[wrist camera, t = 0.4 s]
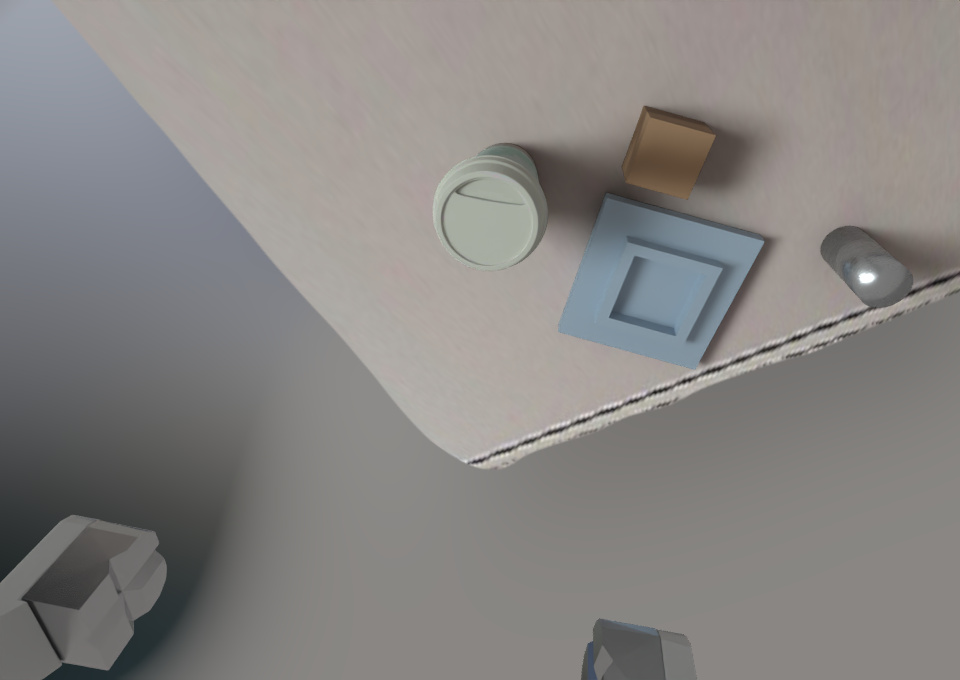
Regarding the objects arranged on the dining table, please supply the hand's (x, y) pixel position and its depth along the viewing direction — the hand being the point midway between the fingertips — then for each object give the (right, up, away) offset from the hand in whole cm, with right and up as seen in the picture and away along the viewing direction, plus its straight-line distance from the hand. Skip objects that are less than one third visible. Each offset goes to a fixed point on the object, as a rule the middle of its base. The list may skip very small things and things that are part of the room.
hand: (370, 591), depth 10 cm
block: (+17, +21, +37) cm, 46 cm away
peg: (+34, +13, +39) cm, 53 cm away
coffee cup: (+4, +19, +40) cm, 45 cm away
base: (+18, +10, +43) cm, 48 cm away
